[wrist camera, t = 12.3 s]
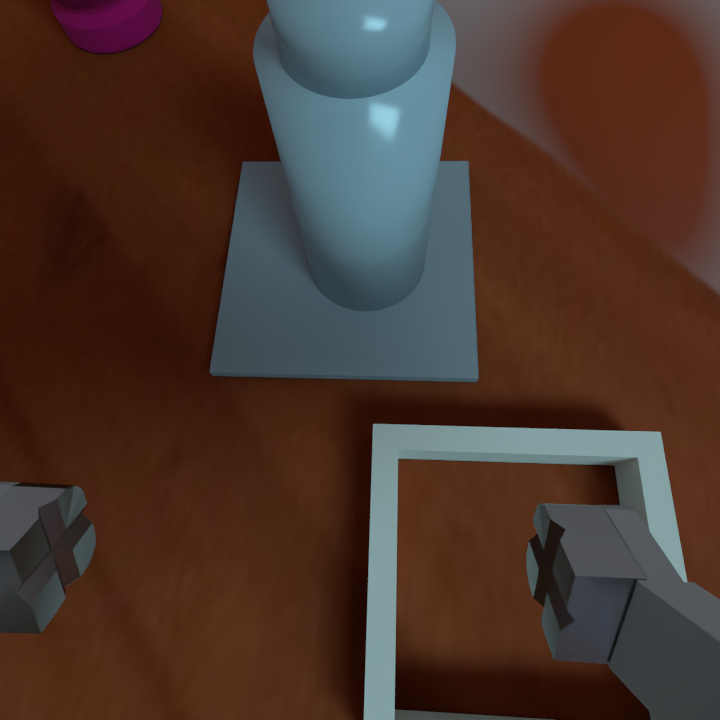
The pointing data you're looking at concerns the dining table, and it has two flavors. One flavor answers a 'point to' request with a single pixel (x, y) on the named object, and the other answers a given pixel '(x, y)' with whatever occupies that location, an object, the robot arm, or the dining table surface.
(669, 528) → the holder
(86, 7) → the pepper mill
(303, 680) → the dining table surface
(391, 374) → the mat
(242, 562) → the dining table surface
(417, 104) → the blue capped bottle
